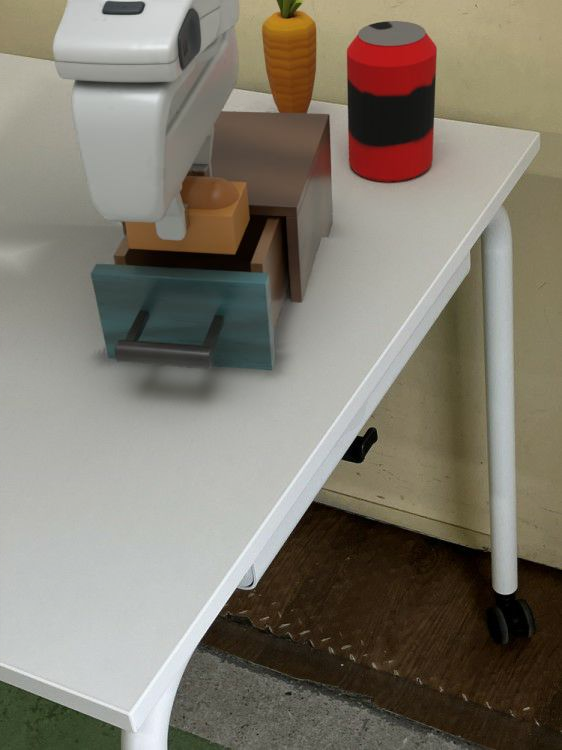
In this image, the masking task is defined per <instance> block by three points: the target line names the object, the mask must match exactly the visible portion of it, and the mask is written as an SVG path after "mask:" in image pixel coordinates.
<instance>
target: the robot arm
mask: <svg viewBox="0 0 562 750" xmlns="http://www.w3.org/2000/svg"><path fill="white" fill-rule="evenodd" d="M240 14H241V13H240V0H67V2H66V6H65V9H64V12H63V14H62V18H61V20H60V22H59V25H58V27H57V29H56V31H55V35H54V38H53V42H52V55H53V60H54V65H55V69H56V72H57V75H58V76H59V78H61V79H62V80H71V81H74V82H73V84H72V89H71V100H70V101H71V115H72V122H73V128H74V132H75V137H76V142H77V148H78V151H79V156H80V160H81V165H82V169H83V173H84V177H85V181H86V184H87V189H88V192H89V196H90V199H91V201H92V204H93V206H94V207H95V209H96V210H97V211H98V212H99V214H100V215H101V216H102V217H103V218H104V219H106V220H107V221H114V222H122V221H125V222H149V223H151V222H155V225H156V232H157V235H158V236H159V237H160V238H161V239H163V240H182V239H183V238H184V237H185V234H186V232H187V230H188V228H189V226H190V218H189V207H188V204H183V202H182V198H181V195H180V191H181V189H182V182H183V181H184V179H185V177H186V176H199V177H212V168H211V157H212V147H213V138H214V124H215V122H216V120H217V118H218V116H219V115H220V113H221V111H223V109H224V108H225V105H226V104H227V102H228V100H229V98H230V96H231V95H232V93H233V91H234V89H235V87H236V85H237V84H238V79H239V70H240V68H239V67H240V61H239V59H240V58H239V50H238V42H237V41H238V40H237V31H236V25H237V23H238V22H239V20H240V17H241V15H240Z"/></svg>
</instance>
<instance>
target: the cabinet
mask: <svg viewBox="0 0 562 750" xmlns="http://www.w3.org/2000/svg"><path fill="white" fill-rule="evenodd" d="M330 117H331V115H330V113H308V112H307V113H279V112H267V111H262V112H261V111H234V110H233V111H232V110H230V111H228V110H222V111H221V113H220V115H219V116H218V118H217V120H216V122H215V124H214V138H213V147H212V157H211V168H212V177H218V178H223V179H225V180H227V181H230V182H246V183H247V192H248V204H249V215H268V216H286V228H287V244H288V260H289V276H290V285H289V292H290V302H291V303H303V301H304V298H305V294H306V290H307V287H308V284H309V281H310V277H311V274H312V272H313V268H314V264H315V261H316V258H317V254H318V251H319V247H320V244H321V241H322V238H329V235H330V233H331V228H332V224H333V222H334V220H333V219H334V217H333V183H332V181H333V180H332V152H331V151H332V148H331V147H332V146H331V118H330ZM121 224H122V230H123V236H124V237H125V235H126V233H127V230H126V225H125V221H121Z"/></svg>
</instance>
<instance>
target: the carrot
mask: <svg viewBox="0 0 562 750" xmlns="http://www.w3.org/2000/svg"><path fill="white" fill-rule="evenodd" d="M303 2H304V0H276V3H277V6H278V8H279V11H275V12H274V13H273V14H271V15H270V16H269V17H267V18H266V19H265V21H264V22H262V27H261V35H262V36H261V37H262V47H263V56H264V64H265V71H266V75H267V79H268V84H269V88H270V91H271V95H272V98H273V102H274V104H275V107H276V108H277V111H278V113H308V111H309V108H310V105H311V102H312V97H313V92H314V87H315V82H316V81H315V80H316V73H317V25H316V21H315V20H314V19H313V18H312V17H310V15H308V14H307V13H306V12H305V11H302V10H298V9H299V8H300V7H301V5H302V4H303Z"/></svg>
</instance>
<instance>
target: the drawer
mask: <svg viewBox="0 0 562 750" xmlns="http://www.w3.org/2000/svg"><path fill="white" fill-rule="evenodd" d="M249 216H250V220H249V222H248V225H247V227H246V229H245V232H244V234H243V237H242V239H241V242H240V244H239V246H238V249H237V251H236V254H234V255H233V254H215V253H197V252H180V251H162V250H144V249H130V248H129V242H128V236H127V233H126V235H125V236H124V237H123V238H122V241H121V242H120V244H119V245H118V247H117V248H116V251H115V252H114V254H113V261H114V264H112V263H111V264H110V263H96V264H95V265H94V267H92V270H91V272H90V278H91V282H92V287H93V291H94V298H95V301H96V306H97V311H98V316H99V320H100V325H101V330H102V336H103V339H104V345H105V349H106V354H107V359H110V360H111V359H113V360H115V361H116V362H118V363H122V364H123V363H125V364H138V365H151V366H162V367H164V366H165V367H178V368H179V367H180V368H191V369H202V370H203V369H204V370H211V369H212V368H213V367H220V368H221V367H223V368H233V369H247V370H248V369H249V370H259V371H260V370H261V371H262V370H263V371H273V369H274V368H275V362H276V350H275V349H276V347H275V337H274V336H275V335H274V334H275V331H276V328H277V326H278V321H279V318H280V316H281V312H282V309H283V306H284V304H285V300H286V297H287V294H288V291H289V289H290V276H289V260H288V244H287V228H286V216H268V215H249Z"/></svg>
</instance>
